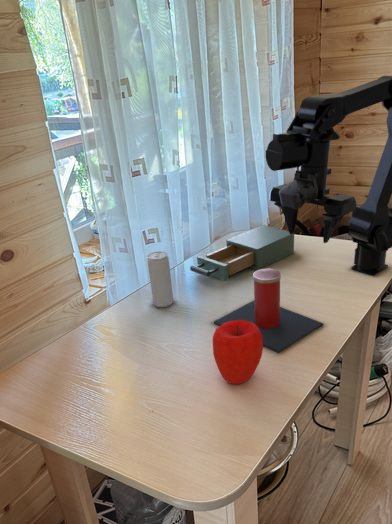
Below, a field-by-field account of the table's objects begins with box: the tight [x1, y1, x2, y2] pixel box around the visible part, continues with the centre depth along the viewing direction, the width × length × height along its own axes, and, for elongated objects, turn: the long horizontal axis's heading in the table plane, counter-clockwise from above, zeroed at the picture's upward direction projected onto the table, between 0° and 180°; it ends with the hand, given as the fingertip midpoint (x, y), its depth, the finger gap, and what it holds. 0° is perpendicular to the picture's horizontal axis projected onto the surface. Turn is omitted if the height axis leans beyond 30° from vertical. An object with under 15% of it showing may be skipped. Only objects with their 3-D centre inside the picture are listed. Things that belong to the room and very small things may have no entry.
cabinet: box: [225, 224, 295, 271], centre depth 138 cm, size 15×11×6 cm
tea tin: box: [252, 268, 282, 328], centre depth 105 cm, size 5×5×11 cm
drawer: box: [189, 244, 255, 281], centre depth 131 cm, size 18×10×4 cm, turn 132°
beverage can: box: [146, 250, 174, 308], centre depth 117 cm, size 5×5×12 cm
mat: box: [213, 300, 324, 354], centre depth 108 cm, size 18×14×1 cm
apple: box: [212, 320, 264, 385], centre depth 90 cm, size 9×9×11 cm
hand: (308, 238), depth 114 cm, fingers open, 9 cm apart
